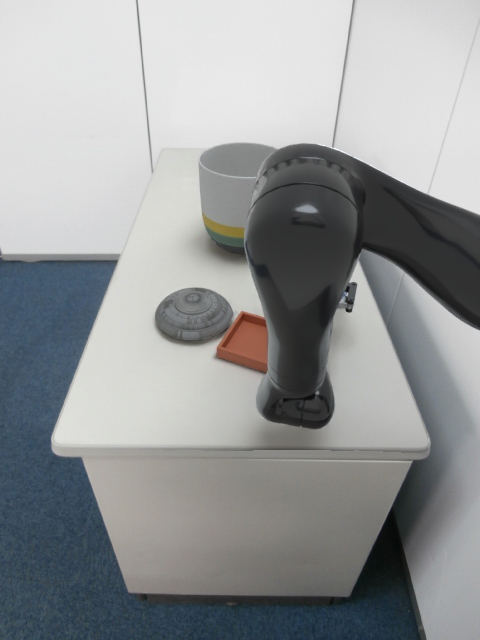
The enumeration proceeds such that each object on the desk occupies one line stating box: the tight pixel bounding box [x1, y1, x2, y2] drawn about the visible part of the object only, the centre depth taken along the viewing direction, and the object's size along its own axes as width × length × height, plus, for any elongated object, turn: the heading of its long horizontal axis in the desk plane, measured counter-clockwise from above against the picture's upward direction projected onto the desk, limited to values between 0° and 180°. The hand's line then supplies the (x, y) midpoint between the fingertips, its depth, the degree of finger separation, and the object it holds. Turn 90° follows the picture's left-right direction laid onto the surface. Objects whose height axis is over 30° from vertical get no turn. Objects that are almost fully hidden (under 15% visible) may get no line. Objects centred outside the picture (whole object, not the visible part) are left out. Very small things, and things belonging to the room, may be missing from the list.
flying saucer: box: [154, 286, 234, 341], centre depth 87 cm, size 15×15×6 cm
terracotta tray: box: [216, 310, 268, 373], centre depth 82 cm, size 11×11×2 cm
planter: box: [197, 141, 279, 255], centre depth 102 cm, size 20×20×21 cm
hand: (319, 268), depth 86 cm, fingers open, 8 cm apart
